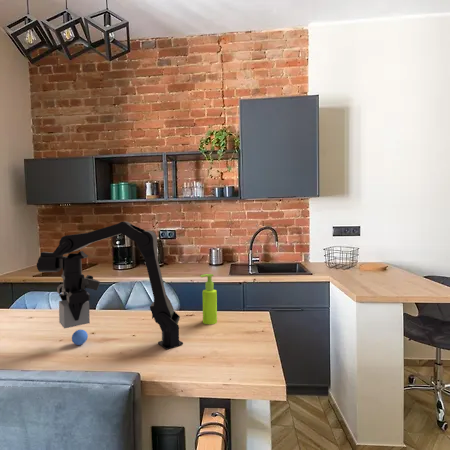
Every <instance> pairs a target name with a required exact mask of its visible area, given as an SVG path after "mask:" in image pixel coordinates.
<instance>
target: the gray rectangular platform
mask: <svg viewBox="0 0 450 450" xmlns="http://www.w3.org/2000/svg"><path fill="white" fill-rule="evenodd" d="M58 313H59V314H58V316H59V317H58V320H59V321H58V322H59V324H60V325H61V326H62V327H63V329H69V328H73V327H78V326H82V325H88V324H90V322H91V321H90V300H88V301H87V302H85V303H84V304H83V306H82V309H81V312H80V316H79V320H77V321H75V320H74V318H73V316H72V313H71V311H70V309H69V307H68V304H67V300H63V301H62V300H59V301H58Z"/></svg>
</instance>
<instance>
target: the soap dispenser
mask: <svg viewBox="0 0 450 450" xmlns="http://www.w3.org/2000/svg"><path fill="white" fill-rule="evenodd" d="M199 277H200V278H205V277H207V281H206V282H205V289H203V290H202V323H203V324H204V325H215V324H217V322H218V304H217V303H218V296H217V295H218V292H217V289H214V286H215V285H214V281H213V280H212V279H213V278H212V277H214V274H213V273H204V274H201V275H199Z"/></svg>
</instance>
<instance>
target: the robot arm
mask: <svg viewBox="0 0 450 450" xmlns="http://www.w3.org/2000/svg"><path fill="white" fill-rule="evenodd" d="M119 235H124V236H125V237H126V238H129V240H131V241H133V242H135V243H136V245H137V247H138V250H139V252H140V253H141V256H142V257H143V259H144V262H145V266H146V270H147V274H148V275H147V276H148V279H149V283H150V288H151V291H152V292H151V293H152V296H153V301H152V303H151V304H150V306H149V310H150V311H151V319H153V320H154V321H155V323H156V324H158V326H159V328H160V330H161V340H160V341H158V342H157V345H160V346H161V347H162V348H164V349H165V350H169V349H170V350H171V349H173V348H176V347H179V346H182V345H183V344H184V342H183V341H181V340H180V326H179V321H180V318H181V316H180V314H178V313H177V312H176V311H175V310H174V309H175V308H174V306H173V303H172V302H171V300H170V298H169V297H168V295H167V292H166V288H165V285H164V279H163V276H162V271H161V267H160V263H159V259H158V235H157V234H156V232H155V231H152V230H146V229H143V228H141V227H139V226H136V225H134V224H132V223H130V222H129V221H120V222H117V223H116V224H115V223H114V224H113V225H112V224H111V225H109V226H106V227H102V228H98V229H95V230H92V231H88V232H85V233H84V232H83V233H75V234H67V235H64V236H62V237H61V238H60V240H59V244H58V246H56V249H54V251H53V252H52V251H51V252H49V251H42V252H40V256H39V257H38V259H37V263H36V269H37V271H38V272H39V273H59V272H61V270H62V274H61V278H62V283H61V284H59V285H58V286H57V287H56V288H57V289H56V290H57V292H56V293H57V294H58V297H59V298H60V299H61V300H60V301H63V300H67V304H68V307H69V309H70V311H71V313H72V316H73V318H74V320H75V321H77V320H79V316H80V312H81V309H82V306H83V304H84V303H85V302H87V301H90V300H91V293H89V292H88V291H87V290H86V289H89V290H93V291H98V289H99V286H100V283H101V281H99V280H97V279H95V278H94V276H93V275H90V274H87V275H86V276H85V275H84V274H83V270H82V267H83V266H82V264H83V263H82V259H86V258H88V257H89V255H88V254H86V252H84V251H83V250H82V249H84V248H86V247H87V246H89V245H92V244H93V243H96V242H99V241H102V240H105V239H110V238H113V237H115V236H116V237H117V236H119ZM79 250H81V251H79ZM77 251H79V252H77ZM73 252H74V253H73ZM75 252H76V253H75ZM64 255H65V256H64Z"/></svg>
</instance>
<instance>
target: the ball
mask: <svg viewBox="0 0 450 450" xmlns="http://www.w3.org/2000/svg"><path fill="white" fill-rule="evenodd" d="M88 335H89V334H88V333H87V331H86V330H84V329H77V330H75V331H74V332H73V334H72V336H71V341H72V343H73V344H74V345H77V346H81V345H83V344H85V343H86V342H87V340H88V337H89V336H88Z"/></svg>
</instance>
